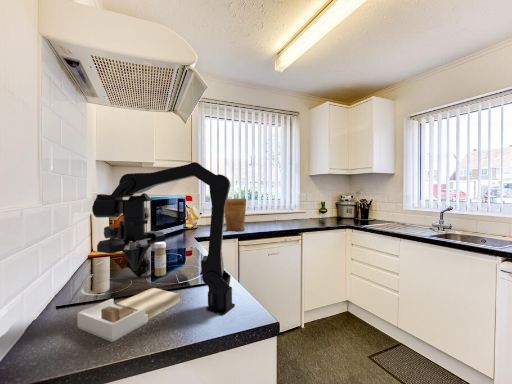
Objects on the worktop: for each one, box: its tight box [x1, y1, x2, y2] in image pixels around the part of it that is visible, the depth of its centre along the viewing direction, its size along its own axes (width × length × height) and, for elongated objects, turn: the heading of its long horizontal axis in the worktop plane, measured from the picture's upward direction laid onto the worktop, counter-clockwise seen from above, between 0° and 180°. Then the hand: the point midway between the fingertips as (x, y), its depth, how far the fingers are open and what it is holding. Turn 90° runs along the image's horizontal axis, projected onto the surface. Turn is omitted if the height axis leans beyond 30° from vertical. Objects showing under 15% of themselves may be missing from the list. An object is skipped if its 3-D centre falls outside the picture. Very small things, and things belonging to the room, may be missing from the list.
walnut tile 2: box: [119, 307, 133, 320], centre depth 68 cm, size 4×4×2 cm
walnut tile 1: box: [101, 306, 119, 323], centre depth 65 cm, size 4×4×2 cm
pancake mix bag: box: [224, 197, 247, 232], centre depth 215 cm, size 7×19×28 cm, turn 96°
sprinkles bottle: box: [153, 241, 167, 277], centre depth 106 cm, size 5×5×14 cm
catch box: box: [76, 298, 149, 343], centre depth 66 cm, size 14×10×4 cm
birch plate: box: [116, 287, 181, 321], centre depth 76 cm, size 12×13×2 cm
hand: (134, 270), depth 74 cm, fingers closed
